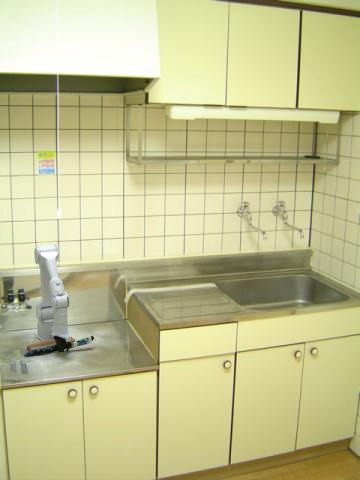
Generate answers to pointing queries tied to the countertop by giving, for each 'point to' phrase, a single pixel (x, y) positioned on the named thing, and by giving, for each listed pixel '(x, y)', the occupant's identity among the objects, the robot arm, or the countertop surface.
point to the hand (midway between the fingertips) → (61, 351)
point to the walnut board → (44, 344)
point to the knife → (54, 348)
